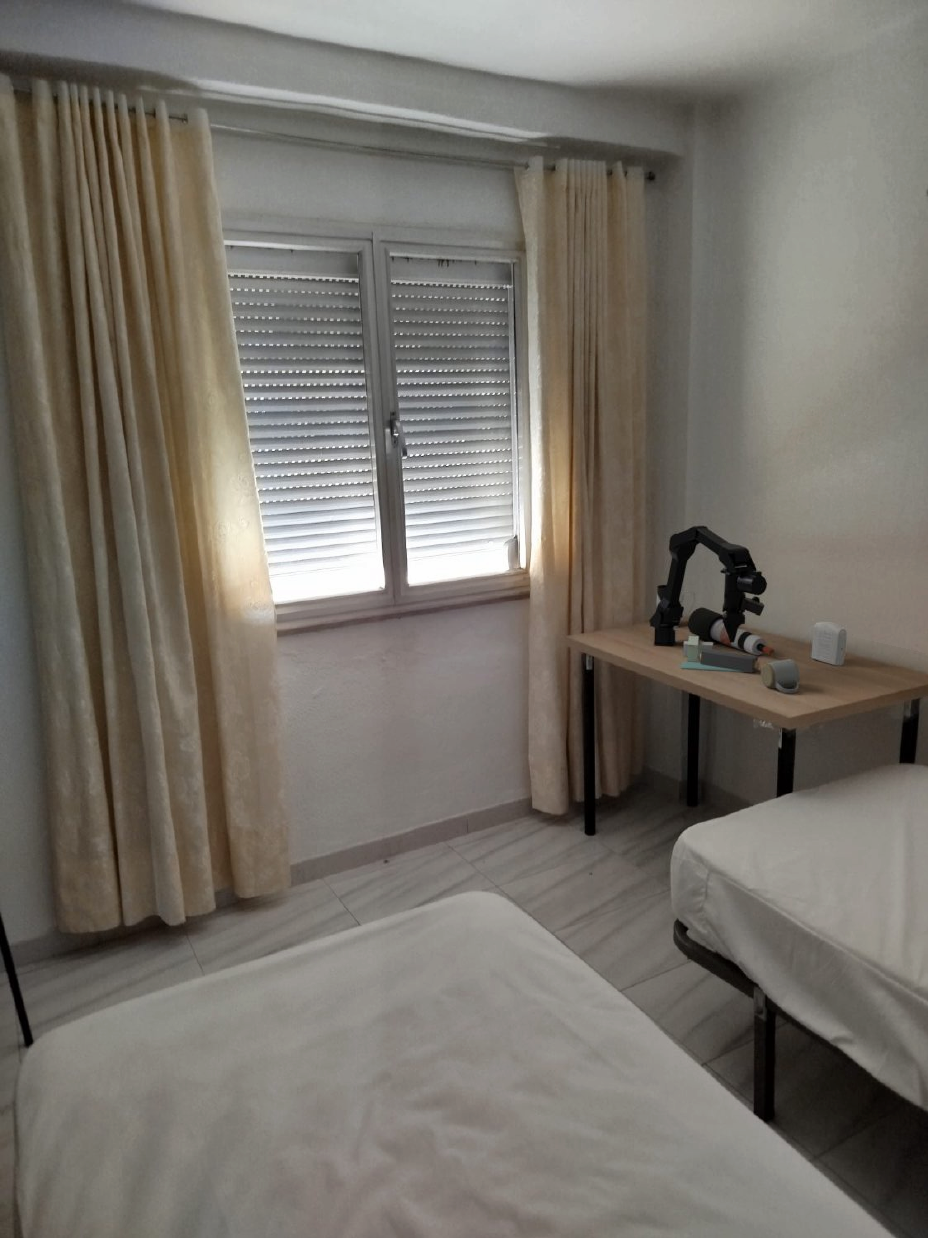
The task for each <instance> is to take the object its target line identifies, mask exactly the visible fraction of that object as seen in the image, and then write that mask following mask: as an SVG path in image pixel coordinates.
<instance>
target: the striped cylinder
mask: <svg viewBox="0 0 928 1238" xmlns="http://www.w3.org/2000/svg"><path fill="white" fill-rule="evenodd" d="M687 628H688V630H689V633H691V634H692V635H693V636H699V638H701V639H703V640H705V641H707V642H713V644H719V643H723V645H727V646H729V647H732V648H735V649H738V650H741V651H744V652H747V653H749V654H751V655H752V656H759V655H760V656H761V655H762V654H763V653H764V654H767V655H768V656H772V655H773V654H774V652H775V649H773V648H771V647H769V646H767V641H766V639H765V638H763V637H761V636H759V635H757V634H755V633H752V632H750V631H748V630H746V629H745V628H743V627H741V626H739V627H738V630H737V634H736V638H735V641H734V642H730V640H729V637H728V634H727V632H726V629H725V626H724V624H723V614H721V613H718V612H716V611H713V610H711V609H710V608H709V609H708V608H706V607H698V608H696V609H694V611H692V613H690V615H689V618H688V620H687Z"/></svg>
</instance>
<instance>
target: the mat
mask: <svg viewBox="0 0 928 1238" xmlns="http://www.w3.org/2000/svg"><path fill="white" fill-rule="evenodd" d="M680 669H681V670H695V671H696V670H697V671H698V670H699V671H715V672H730V673H732V672H733V673H746V672H745V671H739V670H732V669H726V668H720V667H714V666H708V665H702V664H701V661H700V662H698V661H697V662H687V661H682V662H681V666H680Z"/></svg>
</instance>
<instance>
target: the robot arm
mask: <svg viewBox="0 0 928 1238" xmlns="http://www.w3.org/2000/svg"><path fill="white" fill-rule="evenodd" d="M699 544H702V546H704V548H705V547H706V548H707V549H708V550H710V551H712V552H713V553H714V554H715V555H717V556H718V561H719V562H720V563H721V564H722V565H723V566H724V567H723V568H722V569H721V570H720V571H719V572H720V574H724V591H723V593H724V594H723V603H722V608H721V609H722V610H721V611H722V613H723V614H722V615H723V624H724V626H725V629H726V632H727V634H728V637H729V640H730V642H734V641H735V638H736V634H737V630H738V627H741V626H742V625H745V624H746V615H745V614H744V613H745V612H746V611H747V612H750V613H752V614H754V615H756V616H758V617H760V616H761V615H762V613H763V611H764V608H765V604H764V603H763V602H761V601H760V600H761V599H760V597H758V596H761V595H762V594H764V593H765V592H766V590H767V589H768V588H767V586H768V582H767V579H766V578H765V577H764V576H763V575H762V574H763V572H762V571H760V570H757V567H756V564H755V563H754V561H753V557H752V555H751V553H750V549H749V548H747V547H745V546H743V545H739V544H736V543H730V542H728V541H727V540H725V539H724V538H723V537H720V536H719V535H718V534H716V533H715V532H713V531H712V530H710V529H709V527H707V526H706V525H693V526H691V527H690V528H688V529H686V530H682V531H680V532H678V533H673V534H672V535H671V536H670V538H669V545H668V551H669V554H670V556H671V561H670V567H669V570H668V571H669V572H668V575H667V581H666V585H667V586H666V591H665V595H664V598H663V599H662V600H661V601H660V602H659V604H658V606H657V605H656V607H657V609H655V612H654V613H653V615H652V616H651V617H650V619H649V626H650V627H652V628H654V638H653V639H654V640H653V641H654V642H653V645H654V646H664V647H665V646H668V647H671V646H672V647H674V645H675V644H676V631H677V630H676V629H675V628H674V626H679V627H680V622H681V619H682V618H684V616H683V615H684V610H685V608H684V606H683V605H682V603H681V602H680V601H681V600H680V597H681V594H682V589H683V583H684V579H685V574H686V569H687V564H688V561H689V559H691V557H692V556H693V555H694V554H695V551H696V549H697V546H698V545H699ZM746 594H749V595H754V596H753V597H746Z"/></svg>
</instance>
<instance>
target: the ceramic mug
mask: <svg viewBox="0 0 928 1238" xmlns="http://www.w3.org/2000/svg"><path fill="white" fill-rule="evenodd" d="M800 675H801V674H800V670H799V667H798V665H797V663H796V661H795V660H794V659H790V658H788V659H783V660H777V661H771V662H766V663H765V664H763V665H762V667H761V669H760V678H761V681H762V684H763V685H764V686H765V687H766V688H769V689H777V690H779V692H781V693H784V694H790V695H791V694H795V693H797V692H798V689H799V682H800V677H801V676H800ZM793 687H795V688H793ZM789 688H790V689H789ZM791 688H792V689H791Z"/></svg>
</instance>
